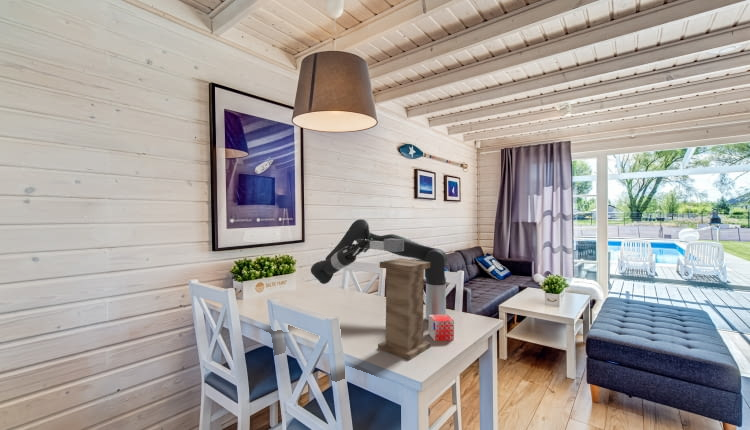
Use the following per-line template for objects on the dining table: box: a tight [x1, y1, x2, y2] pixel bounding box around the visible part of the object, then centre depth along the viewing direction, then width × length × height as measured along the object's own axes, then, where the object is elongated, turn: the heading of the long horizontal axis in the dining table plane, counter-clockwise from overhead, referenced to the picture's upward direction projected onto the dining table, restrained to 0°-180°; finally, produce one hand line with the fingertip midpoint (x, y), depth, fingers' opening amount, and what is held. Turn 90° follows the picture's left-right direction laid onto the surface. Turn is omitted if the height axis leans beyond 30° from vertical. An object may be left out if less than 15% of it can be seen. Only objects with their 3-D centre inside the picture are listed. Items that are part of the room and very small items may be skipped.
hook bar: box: [356, 238, 404, 253], centre depth 127 cm, size 5×21×4 cm, turn 50°
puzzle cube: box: [428, 313, 455, 342], centre depth 131 cm, size 8×8×8 cm
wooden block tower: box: [377, 258, 431, 360], centre depth 119 cm, size 14×14×32 cm
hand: (369, 240), depth 130 cm, fingers closed on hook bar, 3 cm apart
